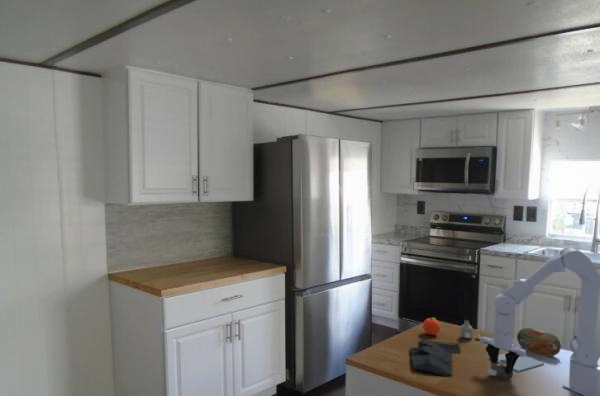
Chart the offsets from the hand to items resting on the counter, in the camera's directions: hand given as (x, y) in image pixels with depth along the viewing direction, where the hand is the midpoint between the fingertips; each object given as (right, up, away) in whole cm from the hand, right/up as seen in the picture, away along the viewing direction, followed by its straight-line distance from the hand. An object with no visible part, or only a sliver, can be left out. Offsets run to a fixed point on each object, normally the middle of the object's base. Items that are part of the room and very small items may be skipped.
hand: (501, 370), depth 143 cm
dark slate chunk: (-21, -2, +10) cm, 23 cm away
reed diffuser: (+2, 0, +35) cm, 35 cm away
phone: (-13, -1, +24) cm, 27 cm away
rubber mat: (+10, -1, +11) cm, 15 cm away
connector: (0, -1, 0) cm, 1 cm away
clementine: (-12, 0, +38) cm, 40 cm away
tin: (+23, -1, +20) cm, 31 cm away
